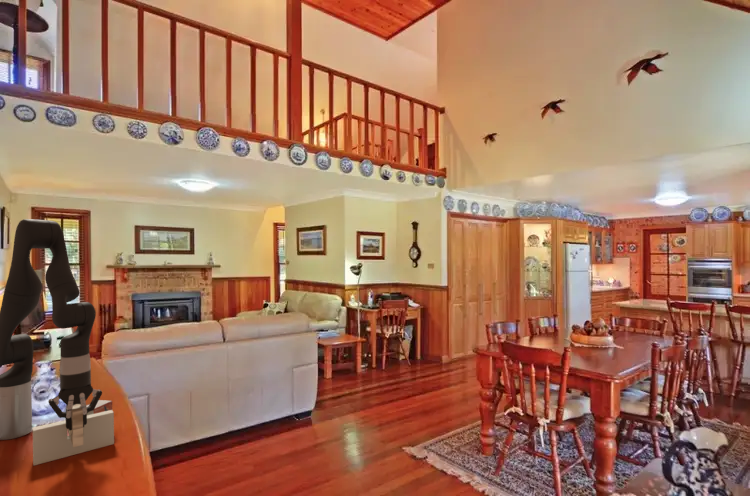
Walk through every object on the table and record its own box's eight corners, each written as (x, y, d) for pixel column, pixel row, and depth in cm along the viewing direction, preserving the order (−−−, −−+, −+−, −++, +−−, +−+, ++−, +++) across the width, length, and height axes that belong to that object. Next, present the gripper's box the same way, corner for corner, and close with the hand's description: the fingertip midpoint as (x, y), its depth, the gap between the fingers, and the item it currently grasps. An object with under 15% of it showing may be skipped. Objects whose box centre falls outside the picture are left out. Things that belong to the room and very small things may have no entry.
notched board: (33, 465, 122) (32, 430, 122) (33, 461, 124) (32, 427, 124) (114, 443, 135) (113, 412, 135) (112, 440, 137) (111, 409, 137)
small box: (93, 441, 137) (92, 409, 137) (78, 440, 138) (78, 408, 138) (113, 431, 144) (112, 400, 144) (99, 430, 146) (98, 399, 146)
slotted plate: (67, 430, 135) (67, 398, 135) (76, 427, 136) (76, 396, 136) (73, 447, 123) (72, 412, 123) (83, 444, 124) (82, 410, 124)
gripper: (46, 377, 119) (48, 439, 119) (104, 367, 128) (106, 425, 128) (45, 372, 125) (46, 431, 125) (100, 363, 134) (101, 418, 134)
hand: (76, 427), depth 126 cm, fingers closed on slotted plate, 2 cm apart
